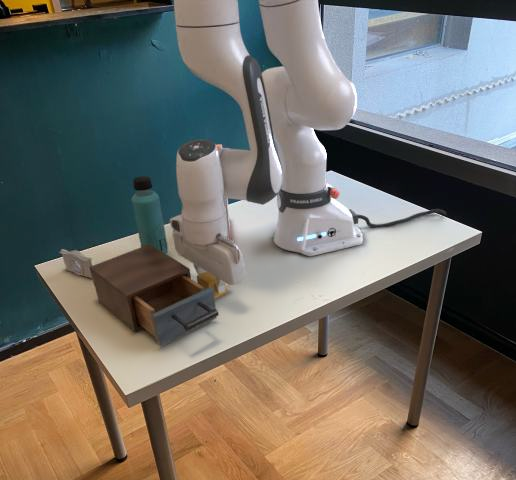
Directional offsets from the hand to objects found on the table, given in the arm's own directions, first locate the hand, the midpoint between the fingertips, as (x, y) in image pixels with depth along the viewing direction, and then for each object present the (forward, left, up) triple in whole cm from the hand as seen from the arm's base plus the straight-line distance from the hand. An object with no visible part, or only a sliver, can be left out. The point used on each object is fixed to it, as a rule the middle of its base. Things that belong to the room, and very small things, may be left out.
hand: (211, 286), depth 112 cm
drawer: (+9, +11, -1) cm, 14 cm away
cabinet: (+15, 0, -2) cm, 15 cm away
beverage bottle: (+12, -20, -2) cm, 23 cm away
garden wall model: (+29, -16, -2) cm, 33 cm away
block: (0, 0, -2) cm, 2 cm away
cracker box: (-5, -30, -2) cm, 30 cm away
